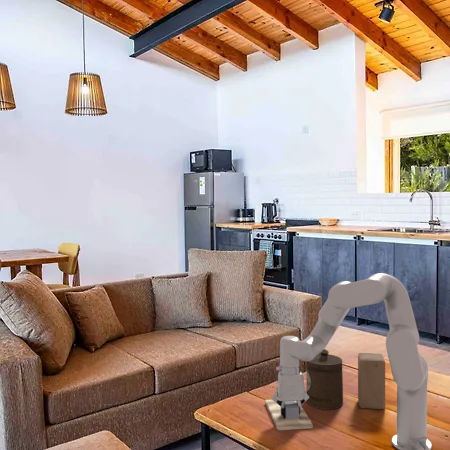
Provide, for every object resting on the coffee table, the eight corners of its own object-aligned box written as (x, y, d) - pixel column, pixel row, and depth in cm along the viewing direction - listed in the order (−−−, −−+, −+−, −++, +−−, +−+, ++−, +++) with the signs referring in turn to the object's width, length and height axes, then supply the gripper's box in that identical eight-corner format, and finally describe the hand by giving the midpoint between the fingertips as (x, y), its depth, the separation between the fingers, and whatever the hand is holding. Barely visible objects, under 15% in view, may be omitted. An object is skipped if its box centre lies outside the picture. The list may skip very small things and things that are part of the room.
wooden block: (385, 410, 197) (385, 360, 196) (359, 408, 199) (359, 359, 198) (382, 400, 207) (382, 353, 206) (357, 398, 209) (357, 351, 208)
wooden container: (314, 392, 216) (313, 342, 215) (347, 399, 208) (347, 347, 207) (301, 405, 203) (300, 352, 202) (336, 412, 196) (336, 357, 194)
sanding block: (299, 421, 185) (299, 407, 185) (287, 421, 185) (287, 408, 185) (293, 411, 193) (293, 399, 193) (282, 412, 193) (282, 399, 193)
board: (312, 428, 183) (312, 424, 183) (277, 430, 181) (277, 426, 181) (296, 401, 207) (296, 398, 206) (265, 403, 205) (265, 400, 205)
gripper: (270, 373, 184) (270, 422, 185) (314, 371, 185) (315, 419, 186) (266, 367, 191) (266, 413, 192) (309, 365, 193) (309, 411, 194)
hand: (290, 416), depth 189 cm, fingers closed on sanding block, 4 cm apart
